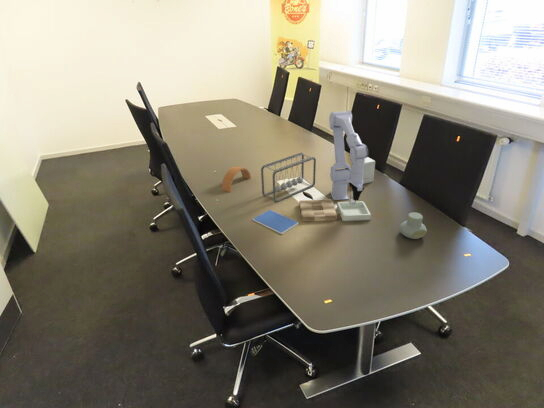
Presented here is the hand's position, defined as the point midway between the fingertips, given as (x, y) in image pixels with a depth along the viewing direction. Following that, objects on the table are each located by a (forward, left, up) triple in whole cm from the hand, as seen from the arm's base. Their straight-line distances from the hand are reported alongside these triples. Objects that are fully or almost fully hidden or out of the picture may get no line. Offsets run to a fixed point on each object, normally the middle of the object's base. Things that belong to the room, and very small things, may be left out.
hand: (354, 197), depth 168 cm
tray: (0, 0, -9) cm, 9 cm away
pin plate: (-3, -17, -9) cm, 19 cm away
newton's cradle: (-27, -29, -9) cm, 41 cm away
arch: (-39, -58, -9) cm, 70 cm away
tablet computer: (+4, -38, -10) cm, 39 cm away
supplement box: (-36, +15, -9) cm, 40 cm away
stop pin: (0, -1, -3) cm, 4 cm away
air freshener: (+20, +21, -9) cm, 30 cm away
